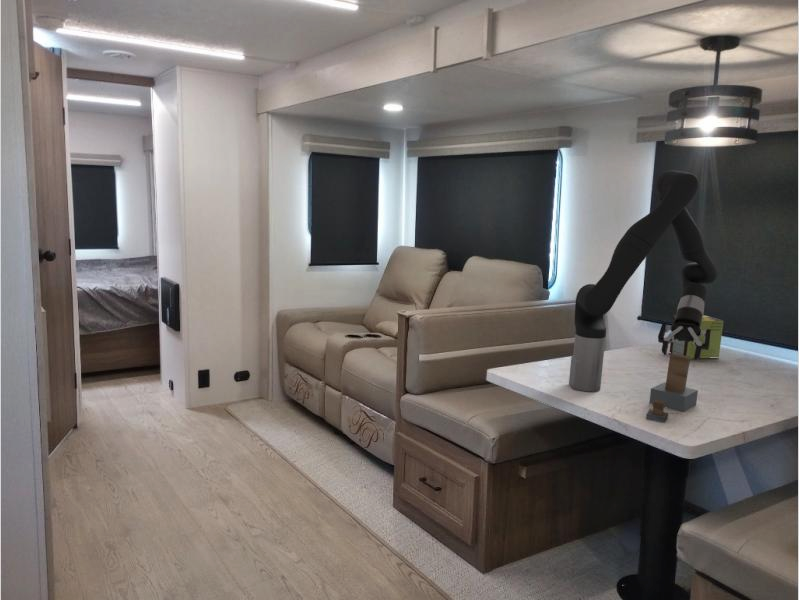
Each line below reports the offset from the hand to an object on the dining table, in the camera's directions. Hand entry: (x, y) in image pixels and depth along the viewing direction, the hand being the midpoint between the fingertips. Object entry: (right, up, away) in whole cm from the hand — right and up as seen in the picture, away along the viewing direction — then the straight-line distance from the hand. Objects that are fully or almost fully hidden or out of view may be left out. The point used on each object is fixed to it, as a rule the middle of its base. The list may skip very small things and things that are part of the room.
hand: (679, 356), depth 185 cm
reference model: (-12, -16, -12) cm, 24 cm away
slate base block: (-2, -15, +1) cm, 15 cm away
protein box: (+34, -6, +63) cm, 72 cm away
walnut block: (-1, -10, 0) cm, 10 cm away
